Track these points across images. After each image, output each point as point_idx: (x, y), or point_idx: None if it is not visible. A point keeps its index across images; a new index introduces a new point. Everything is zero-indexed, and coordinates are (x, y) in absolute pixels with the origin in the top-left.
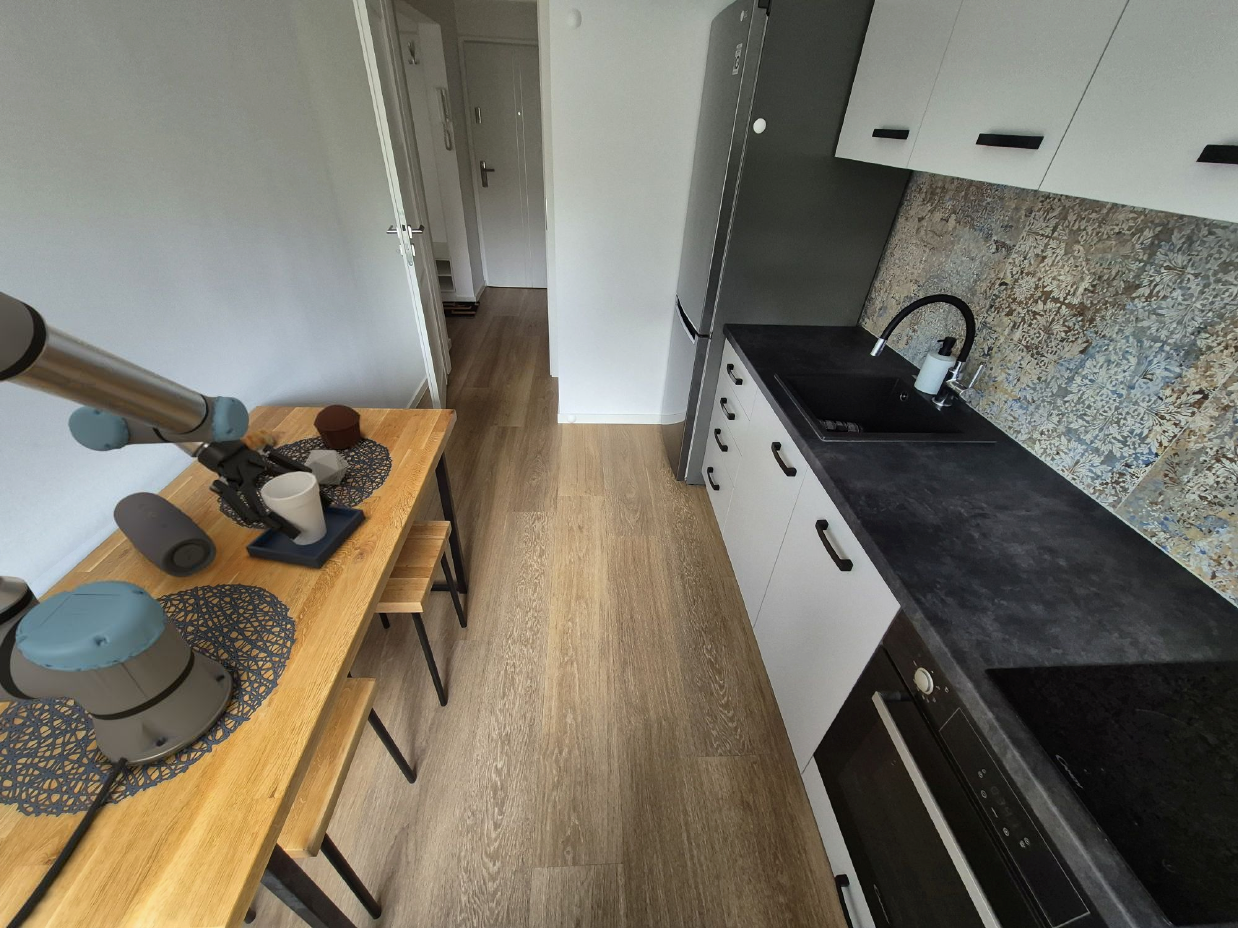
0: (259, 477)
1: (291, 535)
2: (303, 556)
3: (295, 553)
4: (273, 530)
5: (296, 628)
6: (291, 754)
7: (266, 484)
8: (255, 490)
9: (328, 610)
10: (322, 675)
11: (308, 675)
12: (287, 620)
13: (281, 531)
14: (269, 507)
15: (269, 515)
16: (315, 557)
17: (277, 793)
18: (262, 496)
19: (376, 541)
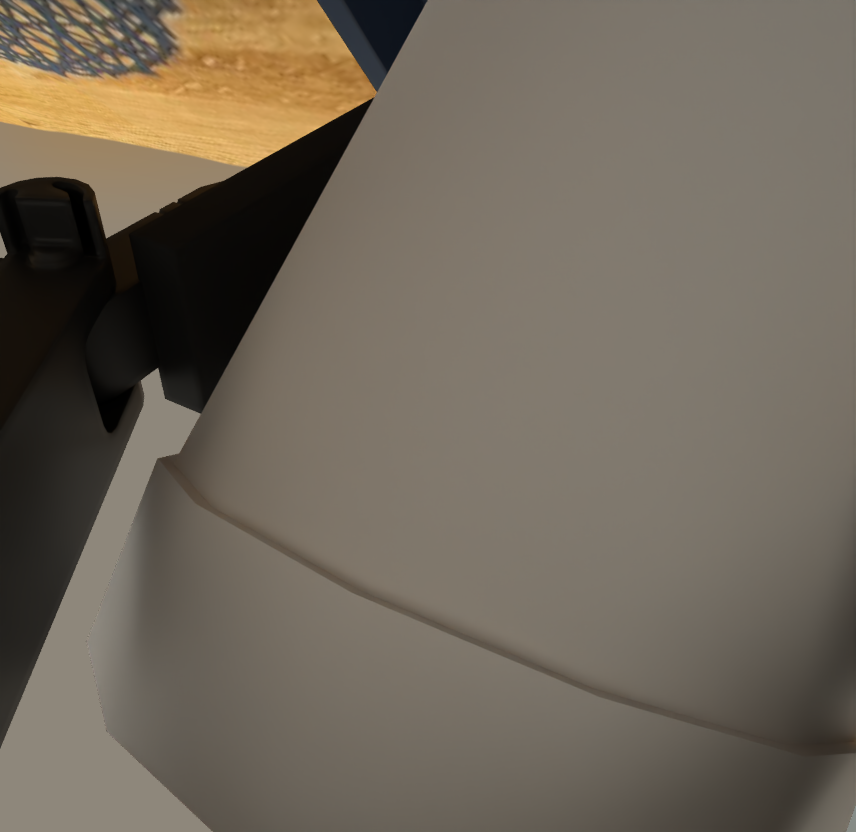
0: None
1: None
2: (375, 82)
3: (358, 30)
4: (204, 191)
5: (171, 62)
6: (70, 130)
7: (230, 821)
8: (2, 733)
9: (302, 124)
10: (180, 144)
11: (149, 123)
12: (151, 25)
13: (300, 145)
14: (204, 415)
15: (172, 359)
16: None
17: (36, 127)
18: (99, 624)
19: None
